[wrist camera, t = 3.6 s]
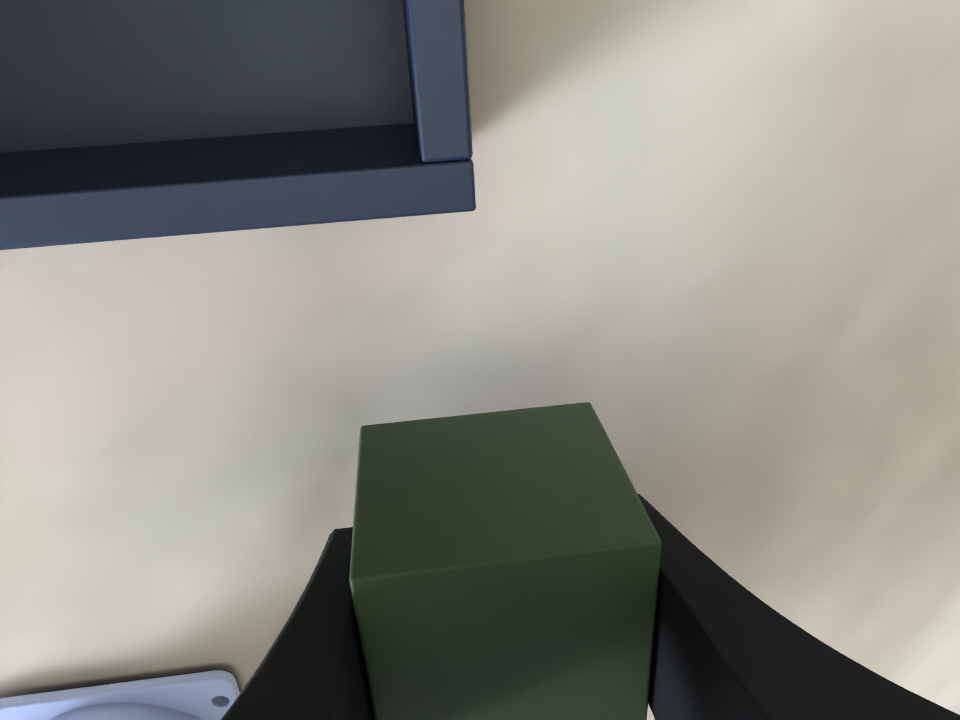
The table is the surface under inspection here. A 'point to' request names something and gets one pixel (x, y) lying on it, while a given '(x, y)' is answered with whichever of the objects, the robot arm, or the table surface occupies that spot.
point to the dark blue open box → (228, 115)
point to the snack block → (502, 569)
